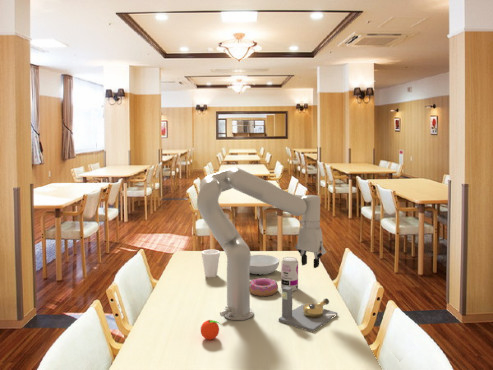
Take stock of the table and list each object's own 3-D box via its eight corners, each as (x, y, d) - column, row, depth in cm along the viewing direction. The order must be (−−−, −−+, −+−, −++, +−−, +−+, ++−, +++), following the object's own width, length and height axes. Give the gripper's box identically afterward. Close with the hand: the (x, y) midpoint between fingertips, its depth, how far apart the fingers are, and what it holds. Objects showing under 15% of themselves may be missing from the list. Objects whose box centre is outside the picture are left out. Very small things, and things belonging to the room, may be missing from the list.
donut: (280, 288, 220) (280, 278, 219) (274, 298, 206) (274, 288, 206) (252, 285, 224) (252, 276, 223) (244, 295, 210) (244, 285, 210)
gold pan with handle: (316, 319, 180) (316, 309, 179) (299, 314, 185) (299, 304, 184) (335, 307, 192) (335, 297, 192) (319, 302, 197) (319, 293, 197)
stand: (314, 332, 171) (315, 299, 170) (278, 321, 182) (278, 289, 180) (339, 315, 187) (340, 285, 185) (304, 306, 197) (304, 277, 196)
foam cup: (199, 274, 241) (199, 250, 240) (216, 271, 245) (215, 248, 244) (205, 279, 233) (205, 255, 231) (222, 276, 237) (222, 253, 235)
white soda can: (297, 286, 222) (298, 256, 220) (298, 292, 214) (298, 261, 212) (281, 285, 223) (281, 256, 221) (281, 291, 215) (281, 261, 213)
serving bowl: (235, 269, 250) (234, 257, 249) (268, 264, 258) (268, 252, 258) (251, 280, 231) (251, 267, 230) (286, 275, 240) (286, 262, 239)
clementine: (222, 334, 170) (222, 316, 170) (221, 342, 164) (221, 324, 163) (201, 334, 170) (201, 316, 169) (200, 343, 163) (199, 324, 162)
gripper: (288, 223, 192) (288, 264, 194) (324, 228, 181) (323, 272, 183) (298, 220, 197) (297, 260, 200) (333, 225, 187) (332, 267, 189)
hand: (310, 265), depth 191 cm, fingers open, 5 cm apart
